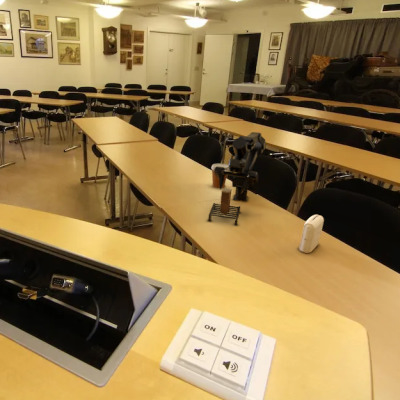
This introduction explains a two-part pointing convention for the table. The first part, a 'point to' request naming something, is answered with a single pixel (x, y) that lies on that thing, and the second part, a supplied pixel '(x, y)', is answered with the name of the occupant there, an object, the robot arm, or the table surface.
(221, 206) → the hanger post
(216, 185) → the disposable coffee cup
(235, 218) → the wire rack
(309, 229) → the photo printer
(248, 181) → the robot arm
